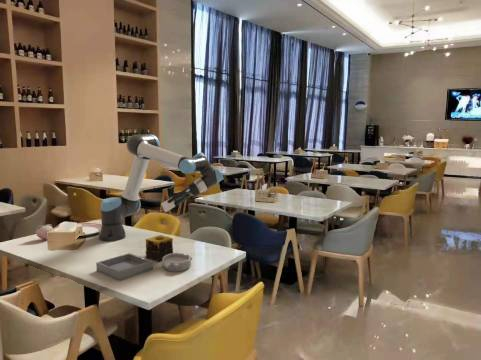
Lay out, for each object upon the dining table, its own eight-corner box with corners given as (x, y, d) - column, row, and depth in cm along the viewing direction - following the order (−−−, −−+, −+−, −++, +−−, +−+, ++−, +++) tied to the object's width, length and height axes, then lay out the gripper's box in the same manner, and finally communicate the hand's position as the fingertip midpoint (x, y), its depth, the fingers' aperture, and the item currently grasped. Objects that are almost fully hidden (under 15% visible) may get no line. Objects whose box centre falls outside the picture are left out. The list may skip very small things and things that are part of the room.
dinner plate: (114, 231, 251) (114, 225, 251) (77, 241, 228) (77, 236, 227) (86, 225, 265) (85, 220, 265) (48, 234, 242) (48, 229, 241)
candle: (158, 262, 195) (158, 242, 193) (145, 257, 201) (144, 239, 199) (173, 256, 203) (173, 238, 201) (160, 252, 209) (160, 234, 207)
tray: (96, 270, 183) (96, 262, 182) (129, 260, 196) (129, 253, 196) (119, 280, 171) (118, 272, 171) (152, 269, 185) (152, 261, 184)
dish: (179, 274, 179) (179, 264, 179) (155, 269, 186) (155, 258, 185) (197, 264, 192) (197, 255, 191) (175, 260, 198) (175, 250, 198)
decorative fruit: (42, 243, 224) (41, 226, 223) (34, 240, 228) (32, 224, 227) (57, 239, 232) (56, 222, 231) (48, 236, 236) (47, 220, 235)
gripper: (201, 188, 203) (165, 210, 198) (200, 197, 227) (168, 217, 222) (193, 176, 204) (157, 197, 199) (193, 187, 228) (161, 206, 223)
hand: (163, 208), depth 211 cm, fingers open, 13 cm apart
